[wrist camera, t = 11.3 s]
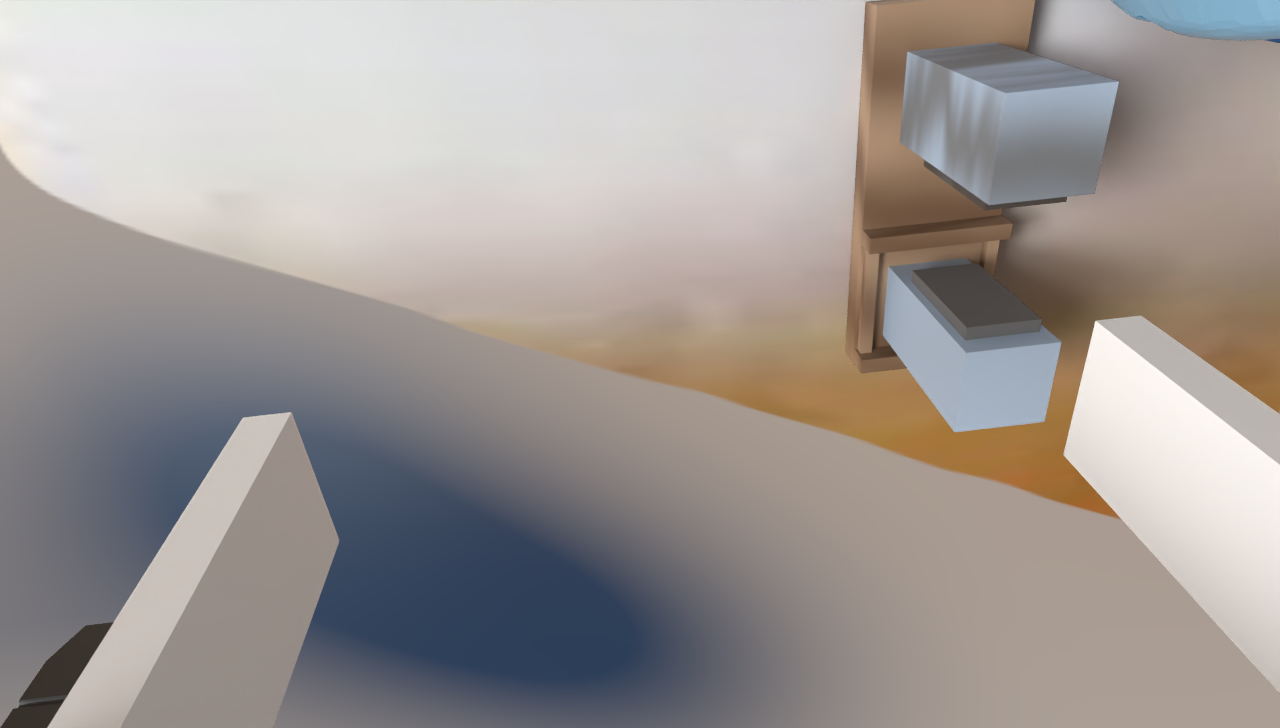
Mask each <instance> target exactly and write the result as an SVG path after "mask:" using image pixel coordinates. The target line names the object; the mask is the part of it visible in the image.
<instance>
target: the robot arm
mask: <svg viewBox="0 0 1280 728" xmlns="http://www.w3.org/2000/svg"><path fill="white" fill-rule="evenodd" d="M1112 2H1114V3H1115V4H1116V5H1117V6H1118V7H1119V8H1121V9H1122V10H1123V11H1125V12H1126V13H1127V14H1129V15H1130V16H1132V17H1134V18H1136V19H1139V20H1144V21H1148V22H1154V23H1156V24H1158V25H1159V26H1161V27H1162V28H1164V29H1166V30H1170V31H1173V32H1175V33H1177V34H1180V35H1185V36H1189V37H1197V38H1206V39H1216V40H1239V41H1246V40H1268V39H1280V0H1112ZM1064 456H1065V457H1066V458H1067V459H1068V460H1069V462H1070V463H1071V464H1072V465H1073V466H1074V467H1075V468H1076V469H1077V470H1078V471H1079V473H1080V474H1081V475H1082V476H1083V477H1084V478H1085V479H1086V480H1087V481H1088V482H1089V484H1090V485H1091V486H1092V487H1093V488H1094V489H1095V490H1096V491H1097V492H1098V494H1099V495H1100V496H1101V497H1102V498H1103V499H1104V500H1105V501H1106V502H1107V503H1108V505H1109V506H1110V507H1111V508H1112V509H1113V510H1114V511H1115V512H1116V513H1117V514H1118V516H1119V517H1120V518H1121V519H1122V520H1123V521H1124V522H1125V523H1126V524H1127V525H1128V527H1129V528H1130V529H1131V530H1132V531H1133V532H1134V533H1135V534H1136V535H1137V537H1138V538H1139V539H1140V540H1141V541H1142V542H1143V543H1144V544H1145V545H1146V546H1147V547H1148V549H1149V550H1150V551H1151V552H1152V553H1153V554H1154V555H1155V556H1156V557H1157V559H1158V560H1159V561H1160V562H1161V563H1162V564H1163V565H1164V566H1165V567H1166V569H1168V571H1169V572H1170V573H1171V574H1172V575H1173V576H1174V577H1175V578H1176V580H1177V581H1178V582H1179V583H1180V584H1181V585H1182V586H1183V587H1184V588H1185V589H1186V590H1187V592H1188V593H1189V594H1190V595H1191V596H1192V597H1193V598H1194V599H1195V600H1196V601H1197V603H1198V604H1199V605H1200V606H1201V607H1202V608H1203V609H1204V610H1205V612H1206V613H1207V614H1208V615H1209V616H1210V617H1211V618H1212V619H1213V620H1214V621H1215V623H1216V624H1217V625H1218V626H1219V627H1220V628H1221V629H1222V630H1223V631H1224V632H1225V634H1226V635H1227V636H1228V637H1229V638H1230V639H1231V640H1232V641H1233V642H1234V643H1235V645H1236V646H1237V647H1238V648H1239V649H1240V650H1241V651H1242V652H1243V653H1244V654H1245V655H1246V657H1247V658H1248V659H1249V660H1250V661H1251V662H1252V663H1253V664H1254V665H1255V667H1256V668H1257V669H1258V670H1259V671H1260V672H1261V673H1262V674H1263V675H1264V677H1266V679H1267V680H1268V681H1269V682H1270V683H1271V684H1272V685H1273V686H1274V687H1275V689H1276V690H1277V691H1278V692H1279V693H1280V414H1279V413H1277V412H1276V411H1274V410H1273V409H1272V408H1270V407H1269V406H1267V405H1266V404H1265V403H1263V402H1262V401H1260V400H1259V399H1258V398H1256V397H1255V396H1253V395H1252V394H1251V393H1249V392H1248V391H1246V390H1245V389H1244V388H1242V387H1241V386H1239V385H1238V384H1237V383H1235V382H1234V381H1232V380H1231V379H1229V378H1228V377H1227V376H1225V375H1224V374H1222V373H1221V372H1220V371H1218V370H1217V369H1215V368H1214V367H1213V366H1211V365H1210V364H1208V363H1207V362H1206V361H1204V360H1203V359H1201V358H1200V357H1199V356H1197V355H1196V354H1194V353H1193V352H1192V351H1190V350H1189V349H1187V348H1186V347H1185V346H1183V345H1182V344H1180V343H1179V342H1178V341H1176V340H1175V339H1173V338H1172V337H1170V336H1169V335H1168V334H1166V333H1165V332H1163V331H1162V330H1161V329H1159V328H1158V327H1156V326H1155V325H1154V324H1152V323H1151V322H1149V321H1148V320H1147V319H1145V318H1144V317H1142V316H1133V317H1124V318H1116V319H1107V320H1098V321H1095V325H1094V330H1093V334H1092V338H1091V342H1090V346H1089V351H1088V355H1087V359H1086V363H1085V367H1084V371H1083V376H1082V380H1081V384H1080V388H1079V392H1078V396H1077V401H1076V405H1075V409H1074V413H1073V417H1072V422H1071V426H1070V430H1069V434H1068V438H1067V442H1066V447H1065V451H1064ZM338 543H339V539H338V536H337V533H336V531H335V528H334V525H333V522H332V520H331V517H330V514H329V512H328V509H327V506H326V504H325V501H324V498H323V496H322V493H321V490H320V488H319V485H318V482H317V480H316V477H315V474H314V472H313V469H312V466H311V463H310V461H309V458H308V455H307V453H306V450H305V447H304V445H303V442H302V439H301V437H300V434H299V431H298V429H297V426H296V423H295V421H294V418H293V415H292V413H291V412H289V413H280V414H271V415H263V416H254V417H245V418H243V419H242V420H241V422H240V423H239V425H238V426H237V428H236V430H235V431H234V433H233V435H232V436H231V438H230V439H229V441H228V442H227V444H226V446H225V447H224V449H223V450H222V452H221V453H220V455H219V457H218V458H217V460H216V461H215V463H214V464H213V466H212V468H211V469H210V471H209V473H208V474H207V476H206V477H205V479H204V481H203V482H202V484H201V485H200V487H199V488H198V490H197V492H196V493H195V495H194V496H193V498H192V499H191V501H190V502H189V504H188V506H187V507H186V509H185V510H184V512H183V514H182V515H181V517H180V518H179V520H178V522H177V523H176V525H175V526H174V528H173V529H172V531H171V533H170V534H169V536H168V538H167V539H166V541H165V542H164V544H163V545H162V547H161V548H160V550H159V552H158V553H157V555H156V556H155V558H154V560H153V561H152V563H151V565H150V566H149V567H148V569H147V571H146V572H145V574H144V575H143V577H142V579H141V580H140V582H139V583H138V585H137V587H136V588H135V590H134V591H133V593H132V594H131V596H130V598H129V599H128V601H127V602H126V604H125V605H124V607H123V609H122V610H121V612H120V613H119V615H118V617H117V618H116V620H115V621H114V622H112V623H103V624H95V625H88V626H85V627H84V628H83V629H81V630H80V631H79V632H78V633H77V634H76V635H75V636H74V637H73V638H71V639H70V640H69V641H68V642H67V643H66V644H65V645H64V646H63V647H62V648H60V649H59V650H58V651H57V652H56V653H55V654H54V655H53V656H51V657H50V658H49V659H48V660H47V661H46V662H45V664H44V665H43V667H42V668H41V669H40V671H39V673H38V674H37V675H36V677H35V678H34V680H33V681H32V682H31V684H30V685H29V687H28V688H27V690H26V691H25V693H24V694H23V696H22V697H21V699H20V700H19V702H20V704H19V707H18V708H16V709H13V710H12V712H11V713H10V715H9V716H8V718H7V719H6V720H5V722H4V723H3V725H2V726H1V728H273V725H274V722H275V719H276V717H277V713H278V711H279V708H280V706H281V703H282V700H283V697H284V694H285V691H286V689H287V686H288V683H289V680H290V678H291V675H292V672H293V669H294V666H295V663H296V660H297V658H298V655H299V652H300V649H301V647H302V644H303V641H304V638H305V635H306V632H307V630H308V627H309V624H310V622H311V618H312V616H313V613H314V610H315V608H316V605H317V602H318V599H319V596H320V593H321V591H322V588H323V585H324V582H325V579H326V577H327V574H328V571H329V568H330V565H331V563H332V560H333V557H334V554H335V551H336V549H337V546H338Z"/></svg>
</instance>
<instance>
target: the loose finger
mask: <svg viewBox="0 0 1280 728" xmlns="http://www.w3.org/2000/svg"><path fill="white" fill-rule="evenodd" d="M1041 322H1042V319H1041V318H1040V317H1039V316H1038V315H1037V314H1035V313H1034V312H1033V311H1032V310H1031V309H1030V308H1028V307H1027V306H1026V305H1025V304H1024V303H1023V302H1022V301H1020V300H1019V299H1018V298H1017V297H1016V296H1015V295H1013V294H1012V293H1011V292H1010V291H1009V290H1008V289H1007V288H1005V287H1004V286H1003V285H1002V284H1001V283H1000V282H998V281H997V280H996V279H995V278H994V277H993V276H992V275H990V274H989V273H988V272H987V271H986V270H985V269H983V268H982V267H981V266H980V265H979V264H978V263H974V264H972V263H971V262H970V261H969V260H968V259H967V258H959V259H950V260H941V261H932V262H923V263H914V264H905V265H896V266H889V267H888V279H887V291H886V303H885V315H884V327H883V336H884V338H885V339H886V340H887V342H888V343H889V344H890V346H891V347H892V348H893V350H894V351H895V352H896V354H897V355H898V356H899V358H900V359H901V361H902V362H903V363H904V365H905V366H906V367H907V369H908V370H909V371H910V373H911V374H912V375H913V377H914V378H915V379H916V381H917V382H918V384H919V385H920V386H921V388H922V389H923V390H924V392H925V393H926V394H927V396H928V397H929V398H930V400H931V401H932V403H933V404H934V405H935V407H936V408H937V409H938V411H939V412H940V413H941V415H942V416H943V417H944V419H945V420H946V421H947V423H948V424H949V426H950V427H951V428H952V430H953V431H954V432H961V431H969V430H978V429H987V428H995V427H1004V426H1012V425H1021V424H1029V423H1038V422H1044V421H1045V416H1046V411H1047V407H1048V402H1049V398H1050V393H1051V388H1052V384H1053V379H1054V375H1055V370H1056V365H1057V361H1058V356H1059V352H1060V347H1061V341H1060V340H1059V339H1058V338H1056V337H1055V336H1054V335H1053V334H1052V333H1051V332H1050V331H1048V330H1047V329H1046V328H1045V327H1044V326H1043V325H1042V324H1041Z"/></svg>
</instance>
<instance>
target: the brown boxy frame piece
mask: <svg viewBox="0 0 1280 728" xmlns="http://www.w3.org/2000/svg"><path fill="white" fill-rule="evenodd" d="M1034 5H1035V0H881V1H871V2H866V5H865V22H864V40H863V57H862V74H861V91H860V109H859V126H858V143H857V161H856V178H855V195H854V212H853V230H852V247H851V264H850V282H849V299H848V316H847V333H846V351H845V352H846V354H847V355H848V357H849V358H850V360H851V361H852V363H853V365H856V366H857V368H858V369H859V371H860V372H861V373H869V372H878V371H887V370H895V369H904V368H907V367H906V366H905V365H904V363H903V362H902V361H901V359H900V358H899V356H898V355H897V354H896V352H895V351H894V350H893V348H892V347H891V346H890V344H889V343H888V342H887V340H886V339H885V338H884V336H883V327H884V315H885V303H886V291H887V279H888V267H889V266H896V265H905V264H914V263H923V262H932V261H941V260H950V259H959V258H967V259H968V260H969V261H970V262H971V263H972V264H974V263H978V264H979V265H980V266H981V267H982V268H983V269H985V270H986V271H987V272H988V273H989V274H990V275H992V276H993V277H994V273H995V267H996V261H997V254H998V248H999V242H1000V240H1006V239H1011V233H1012V227H1013V223H1012V222H1010V221H1009V220H1008V219H1006V218H1005V217H1003V216H1002V215H1001V214H1002V209H1003V208H1012V207H1021V206H1030V205H1039V204H1049V203H1058V202H1066V200H1067V197H1068V196H1077V195H1086V194H1095V190H1096V185H1097V180H1098V176H1099V171H1100V167H1101V162H1102V158H1103V153H1104V148H1105V144H1106V139H1107V135H1108V130H1109V125H1110V121H1111V116H1112V112H1113V107H1114V103H1115V98H1116V93H1117V89H1118V84H1119V81H1116V80H1113V79H1110V78H1107V77H1104V76H1100V75H1097V74H1094V73H1091V72H1088V71H1085V70H1082V69H1078V68H1075V67H1072V66H1069V65H1066V64H1063V63H1059V62H1056V61H1053V60H1050V59H1047V58H1044V57H1041V56H1037V55H1034V54H1031V53H1028V52H1027V50H1028V43H1029V37H1030V31H1031V24H1032V18H1033V12H1034Z"/></svg>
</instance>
